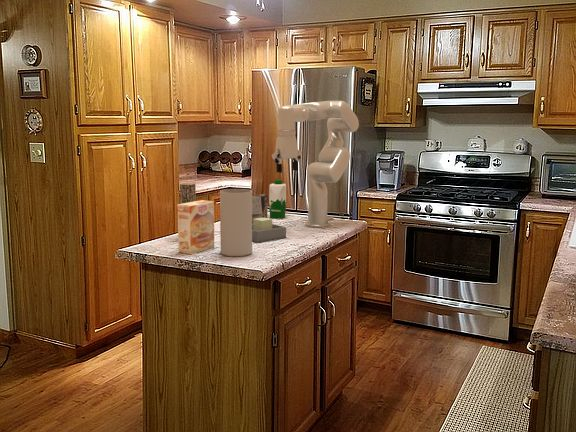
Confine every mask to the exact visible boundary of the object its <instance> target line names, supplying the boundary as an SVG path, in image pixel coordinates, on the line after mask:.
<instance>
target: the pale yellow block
mask: <svg viewBox="0 0 576 432" xmlns="http://www.w3.org/2000/svg"><path fill="white" fill-rule="evenodd" d="M272 224H273V218H270V217H268V218H256V219H253V230H255V231H262V230H268V229H272Z"/></svg>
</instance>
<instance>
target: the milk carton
mask: <svg viewBox="0 0 576 432" xmlns="http://www.w3.org/2000/svg"><path fill="white" fill-rule="evenodd" d="M268 191H269V194H268V197H269V198H268V199H269V200H268V202H269V205H268V207H269V208H268V209H269V219H275V220H276V219H279V220H280V219H282V220H284V218H285V217H286V213H287V212H286V211H287V184H286V183H283V180H282V179H275V180H274V183H270V184H269V189H268Z"/></svg>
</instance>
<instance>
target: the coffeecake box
mask: <svg viewBox="0 0 576 432" xmlns="http://www.w3.org/2000/svg"><path fill="white" fill-rule="evenodd" d="M176 206H177V239H178V240H177V244H178V245H177V247H178V248H177V249H178V250H177V252H178V253H182V254H186V253H187V254H186V255H192V254H197V253H201V252H204V251H206V250H209V249H213V248H215V201H212V200H203V199H201V200H196V201H194V202H189V203H183V204H180V203H179V204H176Z"/></svg>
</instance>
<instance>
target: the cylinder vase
mask: <svg viewBox="0 0 576 432" xmlns="http://www.w3.org/2000/svg"><path fill="white" fill-rule="evenodd" d="M252 196H253V190H252V189H246V188H226V189H222V190H220V191H219V207H220V208H219V209H220V210H219V221H220V223H219V224H220V225H219V229H220V230H219V231H220V232H219V233H220V253H221V254H222V255H224V256H227V257H233V258H234V257H246V256H249V255H251V254H252V253H253V242H252Z"/></svg>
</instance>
